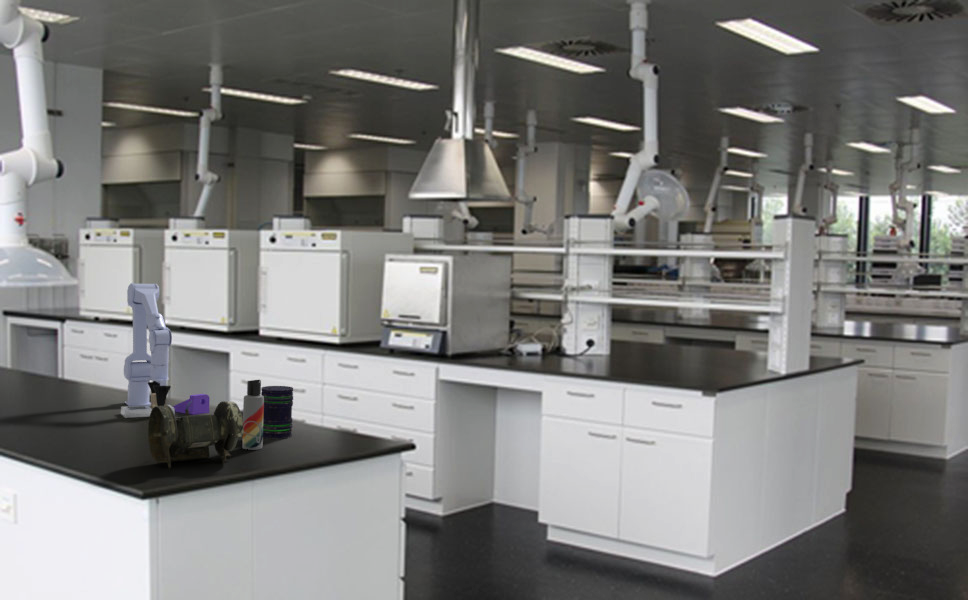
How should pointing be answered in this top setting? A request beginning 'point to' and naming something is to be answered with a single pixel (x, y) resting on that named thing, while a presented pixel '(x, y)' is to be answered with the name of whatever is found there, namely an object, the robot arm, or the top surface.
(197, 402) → the bracket
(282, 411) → the storage jar
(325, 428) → the top surface
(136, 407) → the grey rectangular frame
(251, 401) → the lotion bottle
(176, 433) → the bench grinder
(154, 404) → the peg
